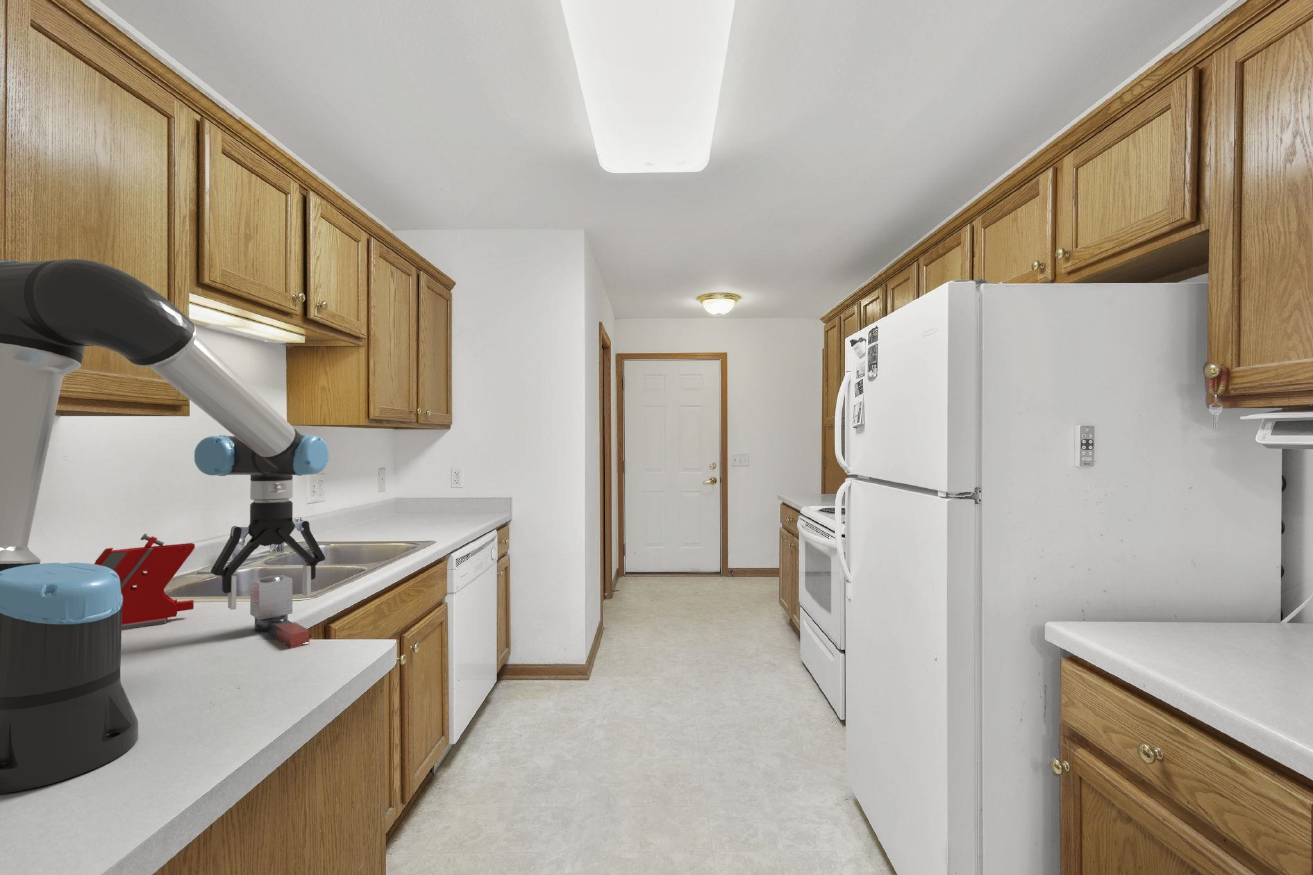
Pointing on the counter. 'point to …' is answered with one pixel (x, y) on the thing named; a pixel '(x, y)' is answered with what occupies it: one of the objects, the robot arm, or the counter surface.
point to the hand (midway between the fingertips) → (270, 601)
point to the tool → (147, 580)
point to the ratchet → (283, 630)
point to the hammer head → (270, 596)
